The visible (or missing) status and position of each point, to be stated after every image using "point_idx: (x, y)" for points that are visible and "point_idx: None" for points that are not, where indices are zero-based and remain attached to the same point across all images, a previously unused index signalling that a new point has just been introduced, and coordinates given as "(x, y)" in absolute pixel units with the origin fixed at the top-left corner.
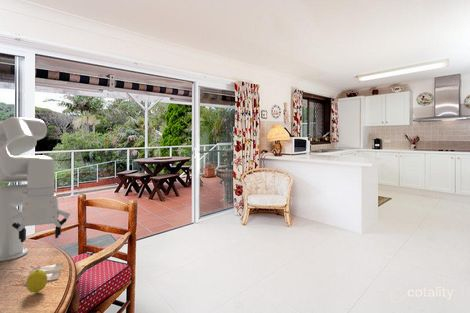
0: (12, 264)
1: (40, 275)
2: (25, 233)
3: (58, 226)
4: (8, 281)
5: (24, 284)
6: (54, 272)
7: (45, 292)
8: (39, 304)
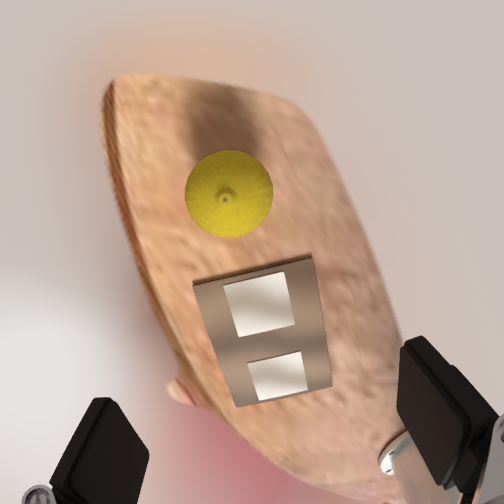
0: None
1: (198, 173)
2: (422, 442)
3: (51, 497)
4: (380, 305)
5: (313, 265)
6: (234, 343)
7: None
8: (182, 100)
